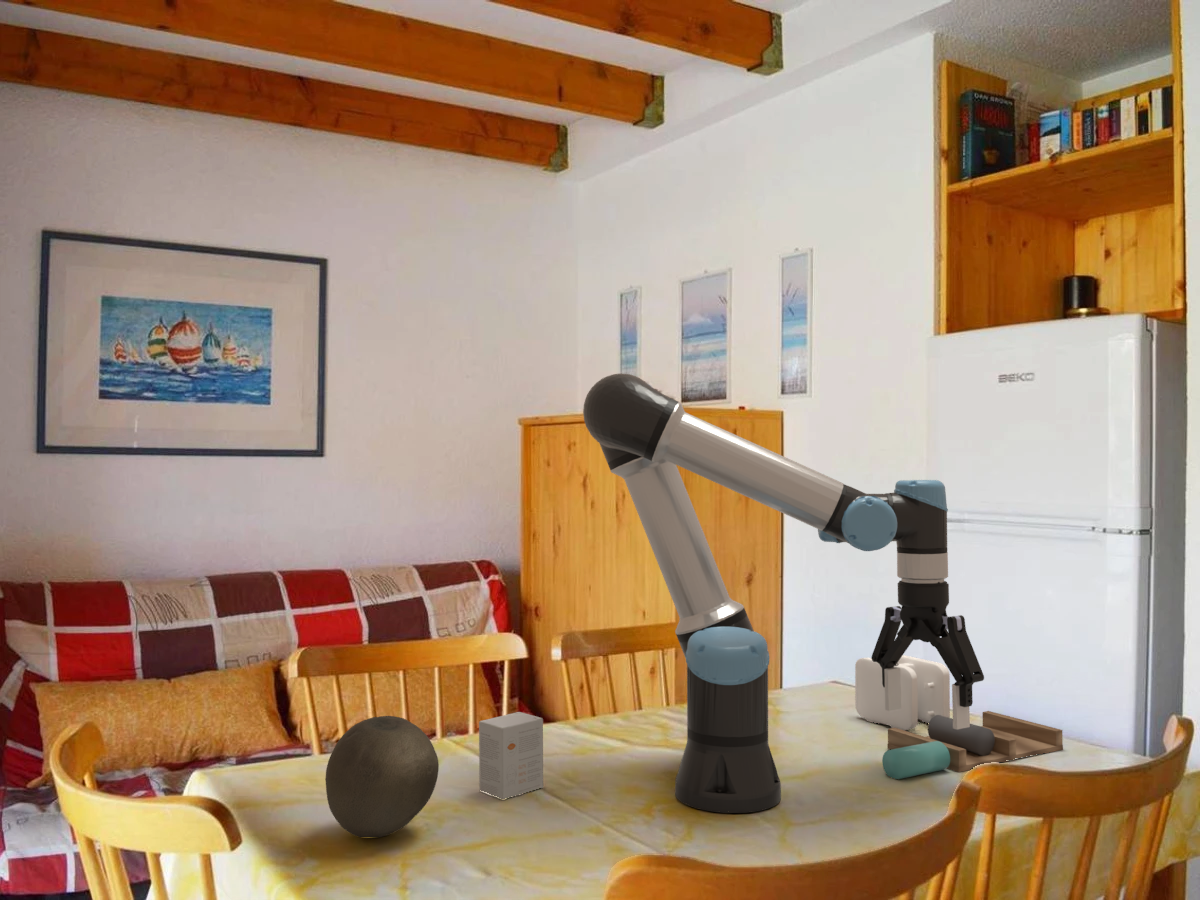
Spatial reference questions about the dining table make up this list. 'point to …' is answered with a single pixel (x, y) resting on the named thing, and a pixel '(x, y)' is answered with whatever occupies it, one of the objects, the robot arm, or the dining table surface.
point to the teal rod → (916, 760)
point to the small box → (511, 754)
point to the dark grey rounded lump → (380, 776)
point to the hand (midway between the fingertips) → (926, 718)
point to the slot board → (996, 757)
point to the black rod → (962, 735)
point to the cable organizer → (903, 692)
